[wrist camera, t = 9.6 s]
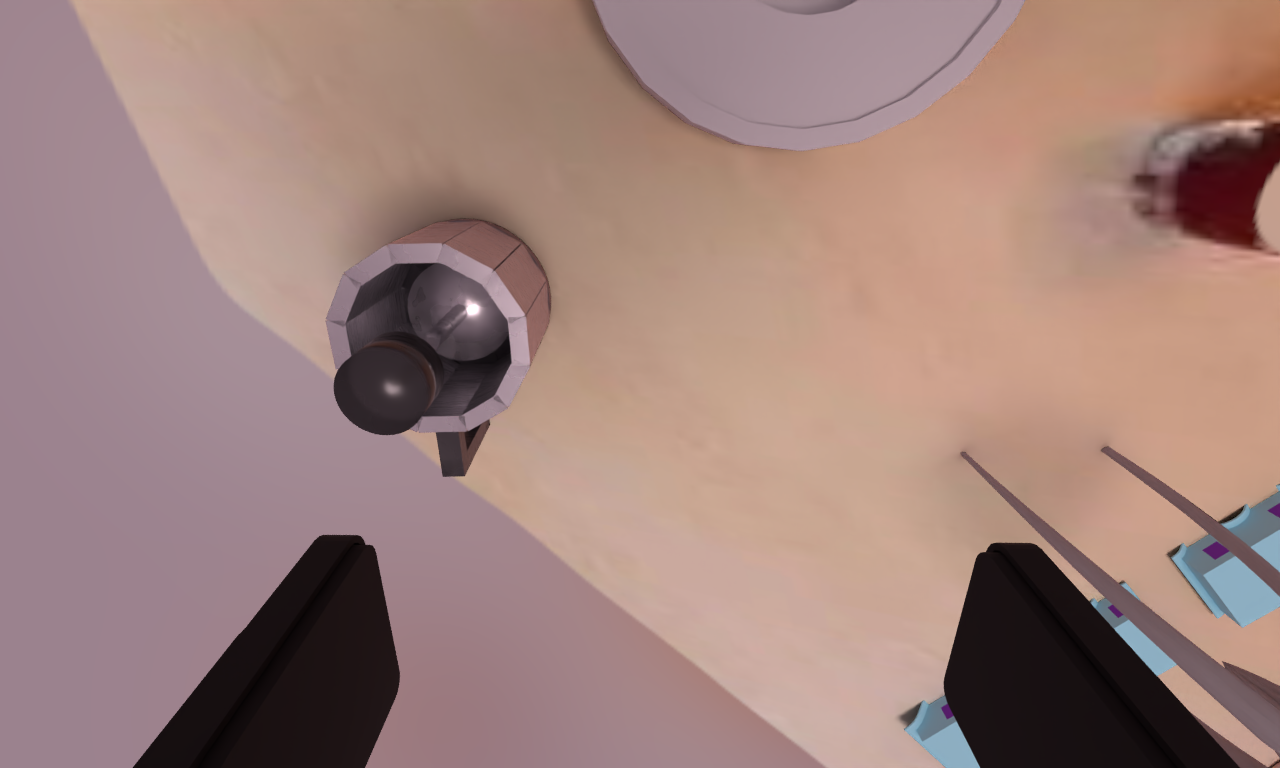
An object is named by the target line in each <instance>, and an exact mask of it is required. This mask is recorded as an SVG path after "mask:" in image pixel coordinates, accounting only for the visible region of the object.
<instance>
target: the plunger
mask: <svg viewBox="0 0 1280 768" xmlns="http://www.w3.org/2000/svg"><path fill="white" fill-rule="evenodd" d="M408 314H409V318H410V321H411V324H412V327H413V328H414V330H415V332H416V334H417V335H418V336H416V335H414V334H411V333H407V332H399V331H394V332H387V333H384V334H381V335H379V336H377V337H375V338H374V339H373V340H371V341H370V342H369V343H367V344H366V345H365V346H364V347H362V348H361V349H360V350H359V351H357V352H356V353H355V354H353V355H352V356H351V357H350V358H348V359H347V360H346V361H345V362H344V363H343V364H342V365H341V366H340V368H339V369H338V371H337V373H336V376H335V380H334V394H335V398H336V401H337V403H338V406H339V408H340V409H341V411H342V412H343V414H344V415H345V416H346V417H347V418H348V419H349V420H350V421H351V422H352V423H353V424H355V425H356V426H358V427H359V428H361V429H363V430H365V431H368V432H371V433H374V434H380V435H394V434H399V433H402V432H405V431H407V430H409V429H410V428H412V427H413V426H414V425H415V424H416V423H417V422H418V421H419V420H420V419H421V417H422V416H423V415H424V413H425V412H426V410H427V409H428V408H429V406H430V405H431V404H432V402H433V401H434V400H435V398H436V397H437V396H438V394H439V393H440V391H441V389H442V387H443V383H444V367H443V364H442V361H441V359H440V357H439V355H438V354H440V355H442V356H444V357H447V358H450V359H455V360H463V361H468V360H476V359H480V358H483V357H485V356H487V355H489V354H491V353H492V352H494V351H495V350H497V349H498V348H499V347H500V346H501V344H502V343H503V342H504V341H505V339H506V337H507V336H508V334H509V328H508V321H507V319H506V318H505V316H504V315H503V313H502V312H501V311H500V309H499V308H498V306H497V305H496V304H495V302H494V301H493V299H492V298H491V296H490V295H489V294H488V292H487V291H486V289H485V288H484V287H483V285H482V284H480V283H479V282H477V281H475V280H473V279H471V278H469V277H467V276H465V275H463V274H461V273H459V272H457V271H455V270H453V269H451V268H450V267H448V266H446V265H444V264H442V263H435V264H433V265H431V266H430V267H428V268H427V269H425V270H424V271H423V272H422V273H421V274H420V275H419V276H418V277H417V278H416V280H415V281H414V283H413V285H412V287H411V290H410V293H409V297H408Z"/></svg>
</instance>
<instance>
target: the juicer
mask: <svg viewBox="0 0 1280 768" xmlns="http://www.w3.org/2000/svg"><path fill="white" fill-rule="evenodd" d="M1101 451H1102V452H1103V453H1105V454H1106V455H1108V456H1109V457H1110V458H1112V459H1113V460H1114V461H1116V462H1117V463H1119V464H1120V465H1121V466H1123V467H1124V468H1125V469H1127V470H1128V471H1129V472H1131V473H1132V474H1133V475H1135V476H1136V477H1137V478H1139V479H1140V480H1141V481H1143V482H1144V483H1145V484H1147V485H1148V486H1149V487H1151V488H1152V489H1153V490H1155V491H1156V492H1157V493H1159V494H1160V495H1161V496H1163V497H1164V498H1165V499H1167V500H1168V501H1169V502H1170V503H1172V504H1173V505H1174V506H1176V507H1177V508H1178V509H1179V510H1181V511H1182V512H1183V513H1185V514H1186V515H1187V516H1188V517H1190V518H1191V519H1192V520H1193V521H1194V522H1196V523H1197V524H1198V525H1199V526H1201V527H1202V528H1203V529H1204V530H1205V531H1207V532H1208V533H1209V534H1210V535H1211V536H1213V537H1214V538H1215V539H1216V540H1217V541H1218V542H1220V543H1221V544H1222V545H1223V546H1224V547H1225V548H1227V549H1228V550H1229V551H1230V552H1231V553H1232V554H1234V555H1235V556H1236V557H1237V558H1238V559H1239V560H1241V561H1242V562H1243V563H1244V564H1245V565H1246V566H1247V567H1248V568H1249V569H1251V570H1252V571H1253V572H1254V573H1255V574H1256V575H1257V576H1258V577H1259V578H1260V579H1261V580H1263V581H1264V582H1265V583H1266V584H1267V585H1268V586H1269V587H1270V588H1271V589H1272V590H1273V591H1274V592H1275V593H1276V594H1277V595H1278V596H1279V597H1280V572H1279V571H1278V570H1277V569H1276V568H1274V567H1273V566H1272V565H1271V564H1270V563H1269V562H1268V561H1266V560H1265V559H1264V558H1263V557H1262V556H1260V555H1259V554H1258V553H1257V552H1256V551H1254V550H1253V549H1252V548H1251V547H1249V546H1248V545H1247V544H1246V543H1245V542H1243V541H1242V540H1241V539H1240V538H1238V537H1237V536H1236V535H1234V534H1233V533H1232V532H1230V531H1229V530H1228V529H1227V528H1225V527H1224V526H1223V525H1221V524H1220V523H1218V522H1217V521H1216V520H1214V519H1213V518H1212V517H1210V516H1209V515H1208V514H1206V513H1205V512H1204V511H1202V510H1201V509H1200V508H1198V507H1197V506H1195V505H1194V504H1193V503H1191V502H1190V501H1189V500H1187V499H1186V498H1185V497H1183V496H1182V495H1180V494H1179V493H1177V492H1176V491H1175V490H1173V489H1172V488H1170V487H1169V486H1167V485H1166V484H1164V483H1163V482H1162V481H1160V480H1159V479H1157V478H1156V477H1154V476H1153V475H1151V474H1150V473H1148V472H1147V471H1145V470H1144V469H1142V468H1141V467H1139V466H1137V465H1136V464H1134V463H1133V462H1131V461H1130V460H1128V459H1127V458H1125V457H1124V456H1122V455H1121V454H1119V453H1117V452H1116V451H1114V450H1113V449H1111V448H1110V447H1104V448H1103V449H1102V450H1101ZM961 455H962V456H963V457H964V458H965V459H966V460H967V461H968V462H969V463H970V464H971V465H972V466H973V467H974V468H975V469H976V471H977V472H978V473H979V474H980V475H981V476H982V477H983V478H984V479H985V480H986V481H987V482H988V483H989V484H990V485H991V486H992V487H993V488H994V489H995V490H996V491H997V492H998V493H999V494H1000V495H1001V496H1002V497H1003V498H1004V499H1005V500H1006V501H1007V502H1008V503H1009V504H1010V505H1011V506H1012V507H1013V508H1014V509H1015V510H1016V511H1017V512H1018V513H1019V514H1020V515H1021V516H1022V517H1023V518H1024V519H1025V520H1026V521H1027V522H1028V523H1029V524H1030V525H1031V526H1032V527H1033V528H1034V529H1035V530H1036V531H1037V532H1038V533H1039V534H1040V535H1041V536H1042V537H1043V538H1044V539H1045V540H1046V541H1047V542H1048V543H1049V544H1050V545H1051V546H1052V547H1053V548H1054V549H1055V550H1057V551H1058V552H1059V553H1060V554H1061V555H1062V556H1063V557H1064V558H1065V559H1066V560H1067V561H1068V562H1069V563H1070V564H1071V565H1072V566H1073V567H1074V568H1075V569H1076V570H1077V571H1078V572H1079V573H1080V574H1081V575H1082V576H1083V577H1084V578H1085V579H1086V580H1087V581H1088V582H1089V583H1091V584H1092V585H1093V586H1094V587H1095V588H1096V589H1097V590H1098V591H1099V592H1100V593H1101V594H1102V595H1103V596H1104V597H1105V598H1106V599H1107V600H1108V601H1109V602H1110V603H1112V604H1113V605H1114V606H1115V607H1116V608H1117V609H1118V610H1119V611H1120V612H1121V613H1122V614H1123V615H1124V616H1125V617H1126V618H1128V619H1129V620H1130V621H1131V622H1132V623H1133V624H1134V625H1135V626H1136V627H1137V628H1138V629H1139V630H1140V631H1141V632H1142V633H1143V634H1145V635H1146V636H1147V637H1148V638H1149V639H1150V640H1151V641H1152V642H1153V643H1154V644H1155V645H1156V646H1158V647H1159V648H1160V649H1161V650H1162V651H1163V652H1164V653H1165V654H1166V655H1167V656H1168V657H1169V658H1171V659H1172V660H1173V661H1174V662H1175V663H1176V664H1177V665H1178V666H1179V667H1180V668H1181V669H1182V670H1184V671H1185V672H1186V673H1187V674H1188V675H1189V676H1190V677H1191V678H1192V679H1193V680H1195V681H1196V682H1197V683H1198V684H1199V685H1200V686H1201V687H1202V688H1203V689H1204V690H1206V691H1207V692H1208V693H1209V694H1210V695H1211V696H1212V697H1213V698H1214V699H1216V700H1217V701H1218V702H1219V703H1220V704H1221V705H1222V706H1223V707H1224V708H1226V709H1227V710H1228V711H1229V712H1230V713H1231V714H1232V715H1233V716H1234V717H1235V718H1237V719H1238V720H1239V721H1240V722H1241V723H1242V724H1243V725H1244V726H1245V727H1247V728H1248V729H1249V730H1250V731H1251V732H1252V733H1253V734H1254V735H1255V736H1257V737H1258V738H1259V739H1260V740H1261V741H1262V742H1264V743H1265V744H1266V745H1268V746H1269V747H1270V748H1272V749H1273V750H1275V752H1276V753H1277V755H1278V756H1279V757H1280V686H1278V685H1276V684H1274V683H1272V682H1270V681H1268V680H1266V679H1264V678H1262V677H1260V676H1258V675H1255V674H1253V673H1251V672H1248V671H1246V670H1244V669H1241V668H1239V667H1237V666H1234V665H1231V664H1229V663H1226V662H1223V661H1222V662H1223V664H1224V666H1225V668H1224V667H1223V666H1221V665H1220V664H1219V663H1218V662H1216V661H1215V660H1214V659H1212V658H1211V657H1210V656H1209V655H1207V654H1206V653H1205V652H1204V651H1202V650H1201V649H1200V648H1198V647H1197V646H1196V645H1195V644H1193V643H1192V642H1191V641H1190V640H1188V639H1187V638H1186V637H1185V636H1183V635H1182V634H1181V633H1180V632H1178V631H1177V630H1176V629H1175V628H1173V627H1172V626H1171V625H1170V624H1168V623H1167V622H1166V621H1165V620H1163V619H1162V618H1161V617H1160V616H1158V615H1157V614H1156V613H1155V612H1153V611H1152V610H1151V609H1150V608H1149V607H1147V606H1146V605H1145V604H1144V603H1142V602H1141V601H1140V600H1139V599H1137V598H1136V597H1135V596H1134V595H1132V594H1131V593H1130V592H1129V591H1128V590H1126V589H1125V588H1124V587H1123V586H1121V585H1120V584H1119V583H1118V582H1116V581H1115V580H1114V579H1113V578H1112V577H1110V576H1109V575H1108V574H1107V573H1106V572H1104V571H1103V570H1102V569H1101V568H1100V567H1098V566H1097V565H1096V564H1095V563H1094V562H1092V561H1091V560H1090V559H1089V558H1088V557H1086V556H1085V555H1084V554H1083V553H1082V552H1080V551H1079V550H1078V549H1077V548H1076V547H1074V546H1073V545H1072V544H1071V543H1070V542H1068V541H1067V540H1066V539H1065V538H1064V537H1062V536H1061V535H1060V534H1059V533H1058V532H1057V531H1055V530H1054V529H1053V528H1052V527H1051V526H1049V525H1048V524H1047V523H1046V522H1045V521H1043V520H1042V519H1041V518H1040V517H1039V516H1038V515H1036V514H1035V513H1034V512H1033V511H1032V510H1030V509H1029V508H1028V507H1027V506H1026V505H1024V504H1023V503H1022V502H1021V501H1020V500H1019V499H1018V498H1016V497H1015V496H1014V495H1013V494H1012V493H1011V492H1009V491H1008V490H1007V489H1006V488H1005V487H1004V486H1003V485H1001V484H1000V483H999V482H998V481H997V480H996V479H994V478H993V477H992V476H991V475H990V474H989V473H988V472H986V471H985V470H984V469H983V468H982V467H981V466H980V465H979V464H978V463H976V462H975V461H974V460H973V459H972V458H971V457H970V456H969V455H967V454H966V453H964V452H962V453H961ZM1191 714H1192V713H1191ZM1192 715H1193V714H1192ZM1193 716H1194V715H1193ZM1194 717H1195V718H1196V720H1197V721H1198V722H1199V723H1200V724H1201V725H1202V726H1203V727H1204V728H1205V729H1206V731H1207V732H1208V733H1209V734H1210V735H1211V736H1212V737H1213V738H1214V739H1215V740H1216V742H1217V743H1218V744H1219V745H1220V746H1221V747H1222V748H1223V749H1224V750H1225V751H1226V753H1227V754H1228V755H1229V756H1230V757H1231V758H1232V759H1233V760H1234V761H1235V762H1236V764H1237V765H1238V766H1239V767H1240V768H1268V767H1266V766H1265V765H1263V764H1262V763H1260V762H1259V761H1257V760H1256V759H1254V758H1253V757H1251V756H1250V755H1248V754H1247V753H1245V752H1244V751H1242V750H1241V749H1239V748H1238V747H1237V746H1235V745H1234V744H1232V743H1231V742H1230V741H1228V740H1227V739H1225V738H1224V737H1223V736H1221V735H1220V734H1218V733H1217V732H1216V731H1214V730H1213V729H1212V728H1210V727H1209V726H1208V725H1206V724H1205V723H1204V722H1202V721H1201V720H1200V719H1198V718H1197V717H1196V716H1194Z"/></svg>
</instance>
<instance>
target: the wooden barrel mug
mask: <svg viewBox="0 0 1280 768" xmlns="http://www.w3.org/2000/svg"><path fill="white" fill-rule="evenodd" d="M435 263H442V264H444V265H446V266H448V267H450V268H451V269H453V270H455V271H457V272H459V273H461V274H463V275H465V276H467V277H469V278H471V279H473V280H475V281H477V282H479V283H480V284H482V285H483V287H484V288H485V289H486V291H487V292H488V294H489V295H490V296H491V298H492V299H493V301H494V302H495V304H496V305H497V306H498V308H499V309H500V311H501V312H502V313H503V315H504V316H505V318H506V319H507V321H508V328H509V334H508V336H507V337H506V339H505V341H504V342H503V343H502V344H501V346H500V347H499V348H498V349H497V350H495V351H494V352H492V353H491V354H489V355H487V356H485V357H483V358H480V359H476V360H468V361H463V360H455V359H450V358H447V357H444V356H442V355H440V354H438V355H439V357H440V359H441V361H442V364H443V367H444V383H443V387H442V389H441V391H440V393H439V394H438V396H437V397H436V398H435V400H434V401H433V402H432V404H431V405H430V406H429V408H428V409H427V410H426V412H425V413H424V415H423V416H422V417H421V419H420V420H419V421H418V422H417V423H416V424H415V425H414V426H413V427H412V428H410V429H411V430H413V431H415V432H417V431H419V433H421V432H436V435H437V442H438V448H439V455H440V461H441V468H442V474H443V477H448V476H465V474H466V472H467V470H468V468H469V466H470V464H471V462H472V460H473V458H474V456H475V454H476V452H477V450H478V448H479V446H480V444H481V442H482V440H483V438H484V436H485V434H486V432H487V430H488V427H489V425H490V421H489V419H490V418H492V417H494V416H495V415H497V414H499V413H501V412H502V411H504V410H506V409H507V408H508V407H509V406H510V404H511V402H512V400H513V398H514V396H515V395H516V393H517V391H518V389H519V387H520V385H521V383H522V381H523V379H524V377H525V375H526V373H527V372H528V370H529V368H530V366H531V363H532V361H533V359H534V356H535V354H536V352H537V350H538V347H539V345H540V343H541V340H542V338H543V336H544V334H545V331H546V329H547V327H548V324H549V321H550V319H549V318H550V311H551V294H550V287H549V283H548V280H547V277H546V274H545V272H544V269H543V267H542V265H541V264H540V262H539V260H538V258H537V257H536V256H535V254H534V253H533V252H532V250H531V249H530V248H529V247H528V246H527V245H526V244H525V243H524V242H523V241H522V240H520V239H519V238H518V237H517V236H515V235H514V234H513V233H511V232H509V231H508V230H506V229H504V228H502V227H500V226H498V225H496V224H492V223H489V222H486V221H482V220H476V219H453V220H448V221H444V222H436V223H434V224H431V225H429V226H427V227H425V228H422V229H420V230H418V231H416V232H413V233H411V234H409V235H407V236H404V237H402V238H400V239H398V240H395V241H393V242H391V243H389V244H386V245H385V246H383V247H382V248H380V249H379V250H377V251H376V252H374V253H373V254H371V255H370V256H368V257H367V258H365V259H364V260H362V261H361V262H359V263H358V264H356V265H355V266H353V267H352V268H350V269H349V270H347V271H346V272H344V274H343V275H342V278H341V280H340V283H339V286H338V288H337V291H336V294H335V296H334V299H333V301H332V304H331V307H330V309H329V312H328V314H327V317H326V319H327V320H326V325H327V330H328V334H329V339H330V344H331V349H332V353H333V358H334V363H335V368H336V369H339V368H340V366H341V365H342V364H343V363H344V362H345V361H346V360H347V359H348V358H350V357H351V356H352V355H353V354H355V353H356V352H357V351H359V350H360V349H361V348H362V347H364V346H365V345H366V344H367V343H369V342H370V341H371V340H373V339H374V338H375V337H377V336H379V335H381V334H384V333H387V332H394V331H399V332H407V333H411V334H414V335H416V336H418V335H417V334H416V332H415V330H414V328H413V327H412V324H411V321H410V318H409V314H408V297H409V293H410V290H411V287H412V285H413V283H414V281H415V280H416V278H417V277H418V276H419V275H420V274H421V273H422V272H423V271H424V270H425V269H427V268H428V267H430V266H431V265H433V264H435ZM337 371H338V370H337Z"/></svg>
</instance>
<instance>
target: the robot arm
mask: <svg viewBox="0 0 1280 768" xmlns="http://www.w3.org/2000/svg"><path fill="white" fill-rule="evenodd" d="M399 680H400V672H399V666H398V661H397V656H396V651H395V646H394V641H393V636H392V631H391V626H390V621H389V616H388V611H387V606H386V601H385V596H384V591H383V586H382V581H381V576H380V570H379V566H378V561H377V555H376V552H375V549H374V547H373V546H372V545H365V542H364V540H363V539H362V537H361V536H358V535H322V536H319V537H318V538H317V539H316V540H315V541H314V542H313V543H312V545H311V546H310V547H309V548H308V550H307V551H306V552H305V553H304V555H303V556H302V557H301V558H300V560H299V561H298V562H297V563H296V565H295V566H294V567H293V569H292V570H291V571H290V572H289V574H288V575H287V576H286V577H285V579H284V580H283V581H282V582H281V584H280V585H279V586H278V587H277V589H276V590H275V591H274V592H273V594H272V595H271V596H270V598H269V599H268V600H267V601H266V603H265V604H264V605H263V606H262V608H261V609H260V610H259V611H258V613H257V614H256V615H255V617H254V618H253V619H252V620H251V622H250V623H249V624H248V625H247V627H246V628H245V629H244V630H243V631H242V632H241V633H240V634H239V635H238V636H237V637H236V638H235V640H234V641H233V642H232V643H231V645H230V646H229V647H228V648H227V650H226V651H225V652H224V654H223V655H222V656H221V657H220V659H219V660H218V661H217V662H216V664H215V665H214V666H213V668H212V669H211V670H210V671H209V672H208V674H207V675H206V677H204V679H203V680H202V681H201V683H200V684H199V685H198V686H197V688H196V689H195V690H194V691H193V693H192V694H191V695H190V696H189V698H188V699H187V700H186V701H185V703H184V704H183V705H182V706H181V708H180V709H179V710H178V711H177V713H176V714H175V715H174V716H173V718H172V719H171V720H170V721H169V723H168V724H167V725H166V726H165V728H164V729H163V730H162V732H161V733H160V734H159V735H158V737H157V738H156V739H155V740H154V742H153V743H152V744H151V745H150V747H149V748H148V749H147V750H146V752H145V753H144V754H143V756H142V757H141V758H140V759H139V760H138V762H137V763H136V764H135V765H134V767H133V768H365V766H366V764H367V762H368V759H369V757H370V755H371V753H372V750H373V748H374V746H375V743H376V741H377V739H378V737H379V734H380V732H381V730H382V727H383V725H384V723H385V721H386V718H387V716H388V714H389V711H390V709H391V707H392V705H393V702H394V700H395V698H396V695H397V692H398V687H399ZM944 692H945V697H946V701H947V703H948V705H949V708H950V710H951V712H952V714H953V716H954V717H955V719H956V721H957V723H958V725H959V727H960V729H961V731H962V733H963V735H964V737H965V739H966V741H967V743H968V745H969V747H970V749H971V751H972V753H973V755H974V757H975V759H976V761H977V763H978V765H979V767H980V768H1240V767H1239V766H1238V765H1237V764H1236V762H1235V761H1234V760H1233V759H1232V758H1231V757H1230V756H1229V755H1228V754H1227V753H1226V751H1225V750H1224V749H1223V748H1222V747H1221V746H1220V745H1219V744H1218V743H1217V742H1216V740H1215V739H1214V738H1213V737H1212V736H1211V735H1210V734H1209V733H1208V732H1207V731H1206V729H1205V728H1204V727H1203V726H1202V725H1201V724H1200V723H1199V722H1198V721H1197V720H1196V718H1195V717H1194V716H1193V715H1192V714H1191V713H1190V712H1189V711H1188V710H1187V709H1186V707H1185V706H1184V705H1183V704H1182V703H1181V702H1180V701H1179V700H1178V699H1177V698H1176V696H1175V695H1174V694H1173V693H1172V692H1171V691H1170V690H1169V689H1168V688H1167V687H1166V685H1165V684H1164V683H1163V682H1162V681H1161V680H1160V679H1159V678H1158V677H1157V676H1156V674H1155V673H1154V672H1153V671H1152V670H1151V669H1150V668H1149V667H1148V666H1147V665H1146V664H1145V662H1144V661H1143V660H1142V659H1141V658H1140V657H1139V656H1138V655H1137V654H1136V653H1135V651H1134V650H1133V649H1132V648H1131V647H1130V646H1129V645H1128V644H1127V643H1126V642H1125V640H1124V639H1123V638H1122V637H1121V636H1120V635H1119V634H1118V633H1117V632H1116V631H1115V629H1114V628H1113V627H1112V626H1111V625H1110V624H1109V623H1108V622H1107V621H1106V620H1105V618H1104V617H1103V616H1102V615H1101V614H1100V613H1099V612H1098V611H1097V610H1096V609H1095V607H1094V606H1093V605H1092V604H1091V603H1090V602H1089V601H1088V600H1087V599H1086V598H1085V596H1084V595H1083V594H1082V593H1081V592H1080V591H1079V590H1078V589H1077V588H1076V587H1075V585H1074V584H1073V583H1072V582H1071V581H1070V580H1069V579H1068V578H1067V577H1066V576H1065V574H1064V573H1063V572H1062V571H1061V570H1060V569H1059V568H1058V567H1057V566H1056V565H1055V564H1054V562H1053V561H1052V560H1051V559H1050V558H1049V557H1048V556H1047V555H1046V554H1045V553H1044V551H1043V550H1042V549H1041V548H1039V547H1038V546H1037V545H1035V544H1032V543H993V544H991V545H990V546H989V547H988V549H987V551H986V552H982V553H980V554H979V555H978V556H977V558H976V561H975V564H974V568H973V572H972V576H971V580H970V583H969V587H968V591H967V595H966V598H965V602H964V606H963V610H962V613H961V617H960V621H959V625H958V628H957V632H956V636H955V640H954V644H953V647H952V651H951V655H950V659H949V662H948V666H947V670H946V674H945V677H944Z"/></svg>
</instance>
